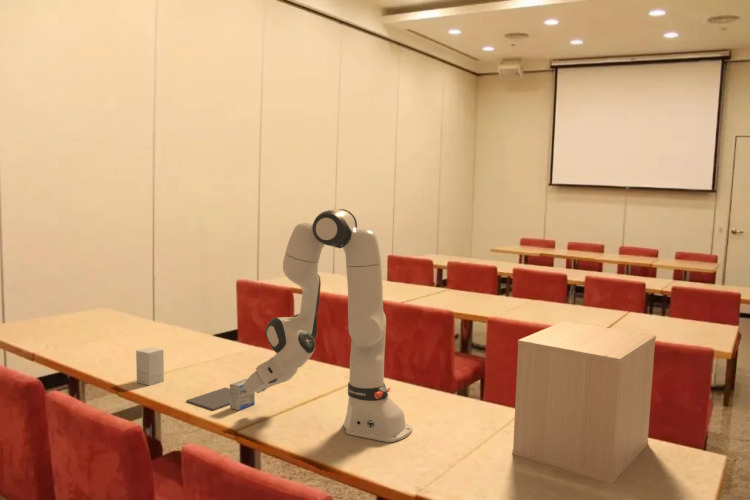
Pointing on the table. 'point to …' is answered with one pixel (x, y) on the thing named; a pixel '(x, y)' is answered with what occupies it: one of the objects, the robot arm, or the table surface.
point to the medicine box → (240, 396)
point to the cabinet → (583, 398)
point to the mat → (213, 399)
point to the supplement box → (150, 366)
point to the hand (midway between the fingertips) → (259, 390)
